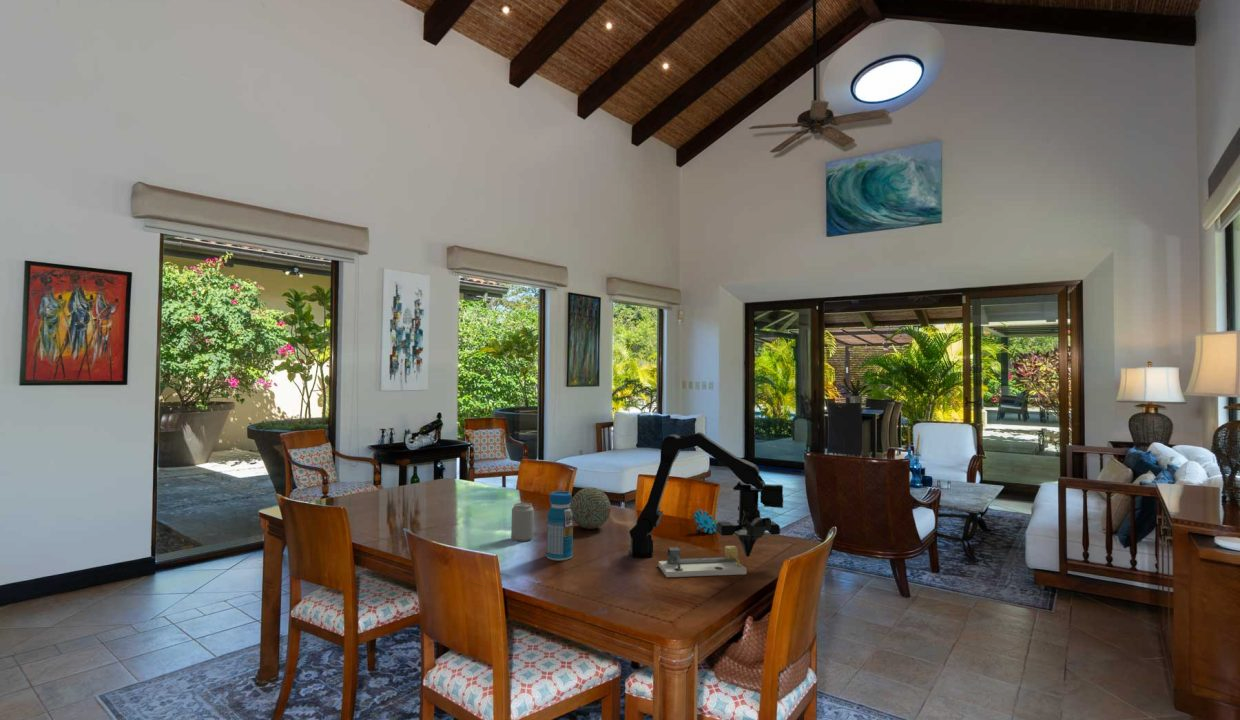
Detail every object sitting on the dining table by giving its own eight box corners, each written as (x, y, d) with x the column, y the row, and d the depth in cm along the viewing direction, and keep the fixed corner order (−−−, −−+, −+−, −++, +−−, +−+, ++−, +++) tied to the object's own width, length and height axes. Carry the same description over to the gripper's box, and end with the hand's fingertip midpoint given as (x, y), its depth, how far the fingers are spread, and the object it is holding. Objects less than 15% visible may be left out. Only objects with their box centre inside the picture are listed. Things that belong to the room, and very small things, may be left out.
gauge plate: (666, 577, 182) (666, 571, 182) (658, 566, 191) (658, 560, 191) (746, 574, 186) (746, 568, 186) (734, 563, 196) (734, 558, 196)
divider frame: (672, 570, 183) (673, 555, 183) (666, 561, 191) (666, 547, 191) (745, 567, 187) (745, 553, 187) (735, 559, 195) (735, 545, 195)
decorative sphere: (580, 521, 244) (581, 482, 244) (616, 526, 238) (617, 486, 238) (562, 530, 230) (563, 489, 230) (600, 535, 224) (600, 493, 224)
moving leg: (733, 566, 186) (734, 553, 186) (724, 558, 194) (725, 545, 194) (743, 566, 187) (743, 553, 187) (734, 558, 195) (734, 545, 195)
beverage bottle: (546, 561, 193) (547, 496, 194) (545, 553, 202) (546, 490, 202) (573, 560, 195) (575, 495, 195) (571, 552, 203) (573, 490, 203)
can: (506, 540, 216) (507, 505, 216) (518, 535, 223) (519, 500, 223) (526, 543, 213) (526, 507, 213) (537, 537, 220) (537, 503, 220)
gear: (702, 531, 226) (691, 508, 232) (692, 541, 229) (682, 517, 236) (724, 532, 232) (713, 509, 239) (715, 541, 235) (704, 517, 242)
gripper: (728, 511, 184) (727, 565, 184) (788, 510, 188) (787, 563, 187) (716, 503, 195) (714, 554, 195) (773, 502, 199) (771, 552, 198)
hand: (747, 556), depth 194 cm, fingers closed
